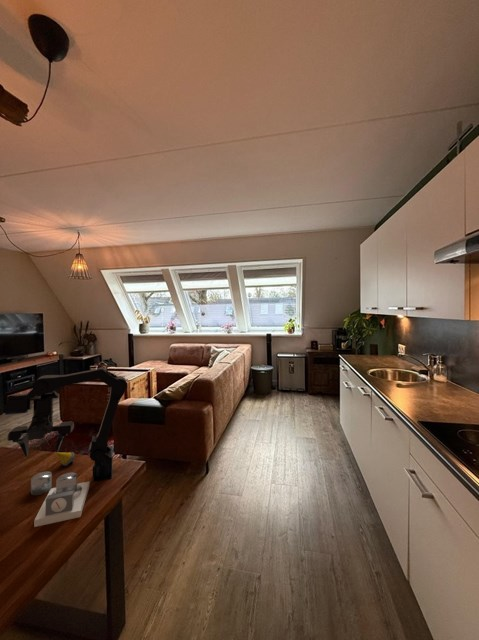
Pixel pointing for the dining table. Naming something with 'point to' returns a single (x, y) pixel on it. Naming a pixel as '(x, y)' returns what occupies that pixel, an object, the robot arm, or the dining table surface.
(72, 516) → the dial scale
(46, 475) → the silver flared knob
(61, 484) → the silver round piece
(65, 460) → the yellow spiral cone
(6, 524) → the dining table surface
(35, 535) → the dining table surface
